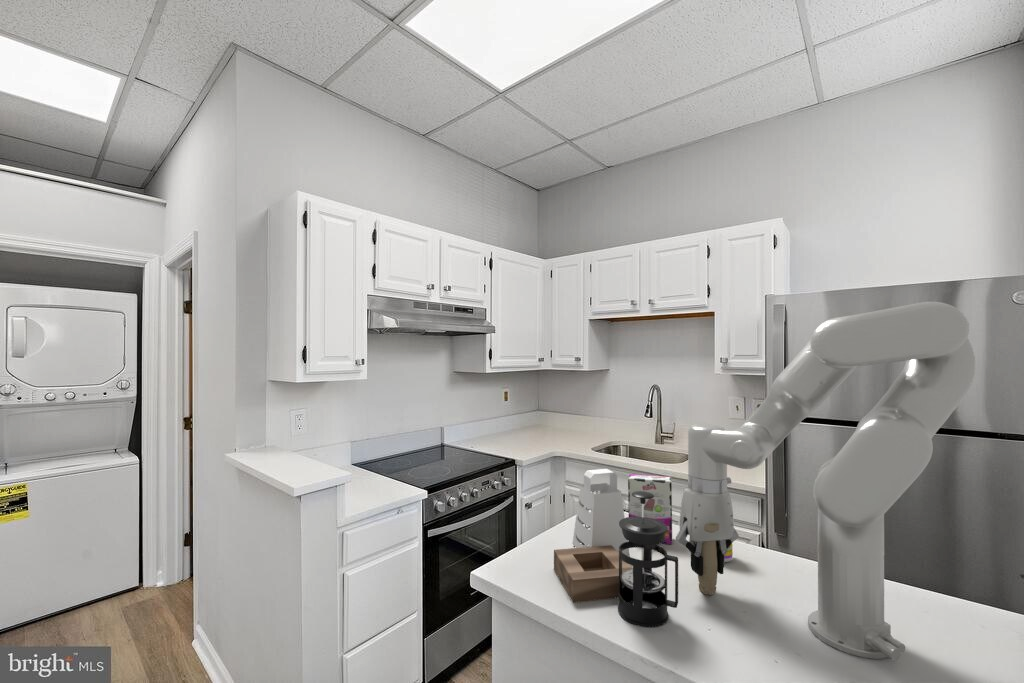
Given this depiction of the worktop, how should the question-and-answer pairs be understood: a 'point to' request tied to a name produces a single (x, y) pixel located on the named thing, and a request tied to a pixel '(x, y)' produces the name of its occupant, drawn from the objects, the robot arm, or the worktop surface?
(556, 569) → the socket block
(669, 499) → the candy bar box
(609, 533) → the grater
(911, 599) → the worktop surface
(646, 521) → the french press
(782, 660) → the worktop surface
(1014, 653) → the worktop surface
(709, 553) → the handle
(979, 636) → the worktop surface
